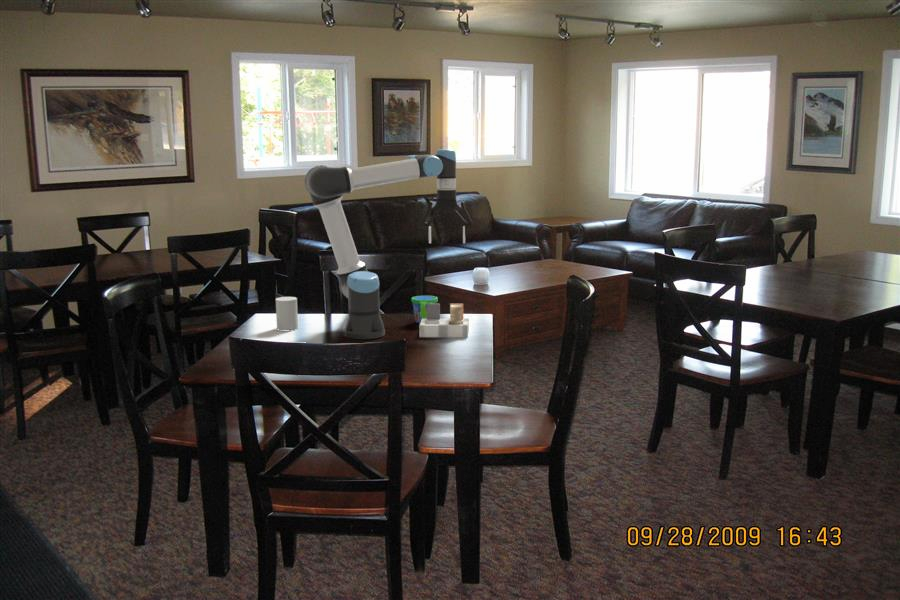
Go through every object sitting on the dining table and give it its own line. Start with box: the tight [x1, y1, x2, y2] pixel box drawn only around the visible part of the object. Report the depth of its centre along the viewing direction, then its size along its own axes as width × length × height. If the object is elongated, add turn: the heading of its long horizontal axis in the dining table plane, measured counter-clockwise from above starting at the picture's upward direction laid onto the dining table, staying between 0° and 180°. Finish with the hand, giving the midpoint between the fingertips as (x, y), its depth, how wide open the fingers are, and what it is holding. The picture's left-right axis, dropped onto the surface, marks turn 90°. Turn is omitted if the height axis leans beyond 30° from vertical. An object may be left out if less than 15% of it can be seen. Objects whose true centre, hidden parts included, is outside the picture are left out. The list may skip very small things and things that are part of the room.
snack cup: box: [411, 295, 439, 324], centre depth 338 cm, size 16×10×10 cm
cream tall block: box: [449, 305, 461, 325], centre depth 317 cm, size 4×4×11 cm
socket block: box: [418, 303, 470, 338], centre depth 319 cm, size 18×12×10 cm, turn 87°
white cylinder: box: [275, 296, 299, 331], centre depth 329 cm, size 8×8×12 cm
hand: (447, 243), depth 335 cm, fingers open, 13 cm apart
